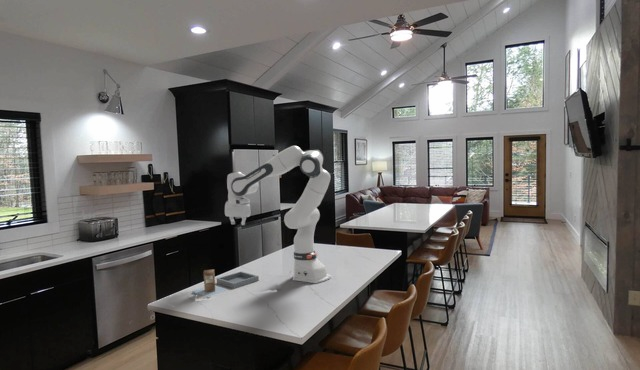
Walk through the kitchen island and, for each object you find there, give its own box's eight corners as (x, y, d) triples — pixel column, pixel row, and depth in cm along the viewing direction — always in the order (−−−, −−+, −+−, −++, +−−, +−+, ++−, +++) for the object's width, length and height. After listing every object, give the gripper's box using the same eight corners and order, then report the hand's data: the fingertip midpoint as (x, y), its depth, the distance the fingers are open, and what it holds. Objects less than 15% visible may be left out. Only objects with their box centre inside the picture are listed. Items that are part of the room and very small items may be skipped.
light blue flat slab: (228, 291, 196) (227, 289, 196) (206, 298, 188) (206, 296, 187) (213, 286, 206) (212, 284, 206) (192, 292, 197) (192, 291, 197)
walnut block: (215, 288, 200) (214, 269, 199) (215, 291, 195) (213, 271, 194) (205, 289, 199) (204, 270, 198) (204, 292, 194) (203, 273, 193)
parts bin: (258, 282, 209) (258, 276, 209) (234, 290, 198) (233, 283, 198) (241, 277, 220) (241, 271, 220) (216, 284, 209) (216, 278, 208)
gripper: (221, 200, 224) (222, 224, 224) (242, 201, 210) (244, 226, 210) (230, 199, 228) (232, 223, 229) (251, 199, 214) (253, 224, 215)
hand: (238, 224), depth 219 cm, fingers open, 8 cm apart
